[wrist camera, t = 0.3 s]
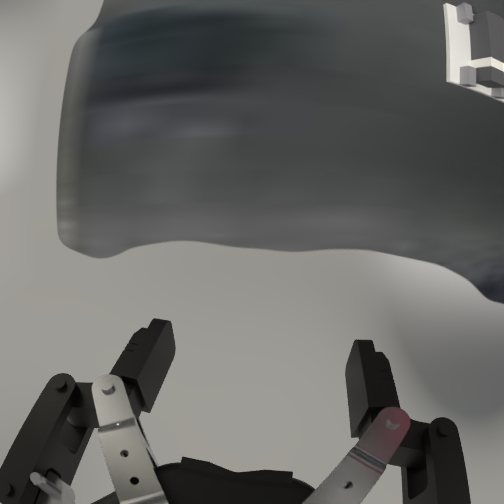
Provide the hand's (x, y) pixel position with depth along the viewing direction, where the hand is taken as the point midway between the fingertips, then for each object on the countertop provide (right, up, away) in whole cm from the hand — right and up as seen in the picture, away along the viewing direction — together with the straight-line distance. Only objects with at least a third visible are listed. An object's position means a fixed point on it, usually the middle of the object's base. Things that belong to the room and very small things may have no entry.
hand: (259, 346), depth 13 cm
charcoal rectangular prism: (+30, +30, +11) cm, 44 cm away
